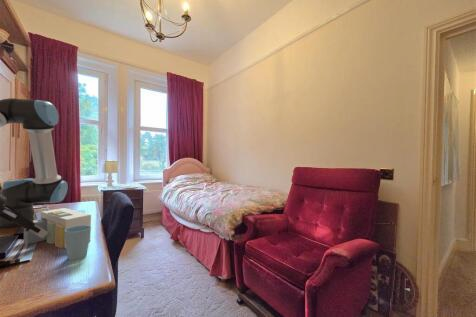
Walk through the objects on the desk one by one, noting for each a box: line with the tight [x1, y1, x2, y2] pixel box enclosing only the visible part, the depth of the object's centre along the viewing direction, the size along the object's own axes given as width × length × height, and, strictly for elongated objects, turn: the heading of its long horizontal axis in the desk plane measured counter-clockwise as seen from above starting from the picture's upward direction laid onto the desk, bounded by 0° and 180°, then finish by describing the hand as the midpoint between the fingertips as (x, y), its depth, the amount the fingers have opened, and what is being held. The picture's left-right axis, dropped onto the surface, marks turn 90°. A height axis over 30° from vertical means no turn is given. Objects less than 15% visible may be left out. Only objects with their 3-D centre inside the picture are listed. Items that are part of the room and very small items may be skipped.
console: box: [40, 207, 92, 249], centre depth 95 cm, size 9×22×12 cm, turn 61°
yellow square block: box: [54, 224, 65, 249], centre depth 90 cm, size 8×4×8 cm, turn 151°
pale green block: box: [46, 221, 55, 245], centre depth 94 cm, size 8×4×8 cm, turn 151°
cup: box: [65, 225, 92, 261], centre depth 79 cm, size 8×8×10 cm
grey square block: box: [23, 219, 47, 245], centre depth 93 cm, size 8×4×8 cm, turn 151°
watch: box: [33, 207, 52, 220], centre depth 105 cm, size 6×8×11 cm
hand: (44, 235), depth 89 cm, fingers closed
